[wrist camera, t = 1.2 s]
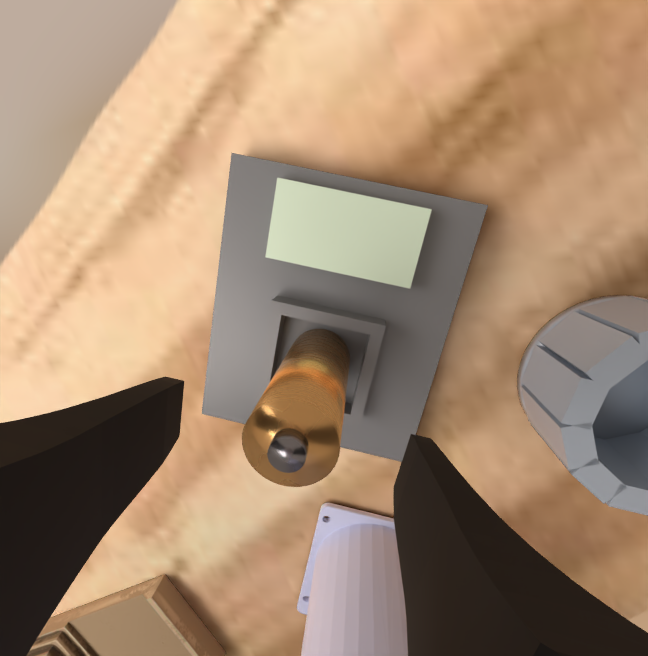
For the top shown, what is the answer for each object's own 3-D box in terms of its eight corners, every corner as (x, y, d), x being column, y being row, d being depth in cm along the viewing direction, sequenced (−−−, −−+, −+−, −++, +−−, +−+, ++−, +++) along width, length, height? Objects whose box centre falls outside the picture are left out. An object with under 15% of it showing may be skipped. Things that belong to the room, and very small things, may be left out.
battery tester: (404, 447, 22) (409, 477, 20) (212, 401, 23) (192, 424, 20) (478, 206, 18) (496, 204, 16) (242, 158, 19) (221, 148, 16)
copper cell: (343, 391, 20) (327, 510, 12) (285, 378, 20) (229, 485, 12) (356, 336, 19) (348, 423, 11) (295, 322, 19) (243, 398, 11)
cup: (650, 464, 21) (735, 536, 16) (494, 428, 21) (532, 487, 16) (731, 316, 18) (861, 349, 13) (552, 278, 19) (616, 297, 14)
